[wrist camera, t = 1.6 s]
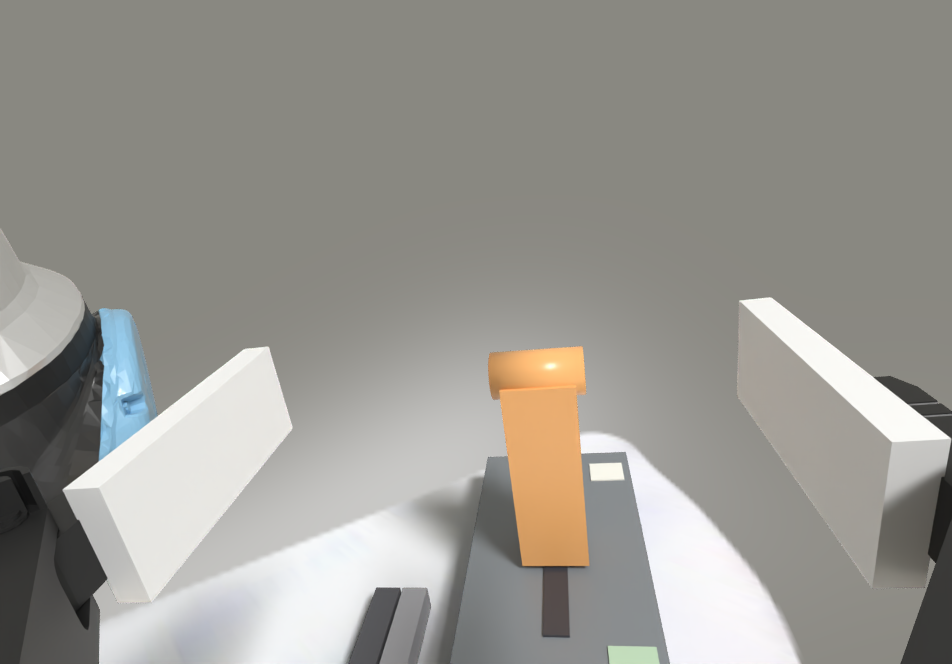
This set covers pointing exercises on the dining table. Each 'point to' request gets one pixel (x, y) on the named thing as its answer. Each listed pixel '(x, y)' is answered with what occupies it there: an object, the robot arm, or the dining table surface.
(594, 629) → the base
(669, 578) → the dining table surface
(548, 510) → the handle
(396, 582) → the dining table surface
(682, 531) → the dining table surface
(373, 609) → the grooved grey bar
